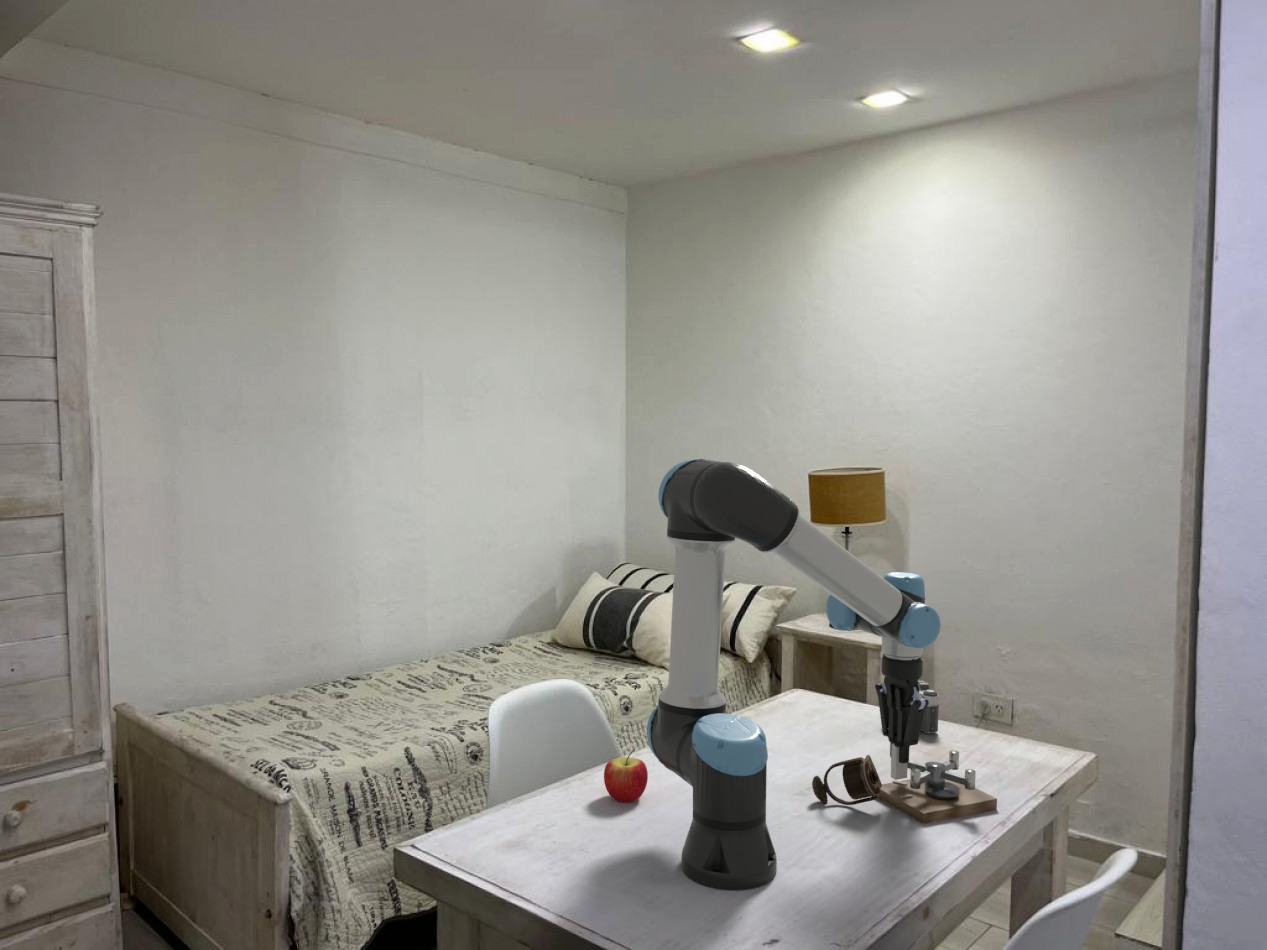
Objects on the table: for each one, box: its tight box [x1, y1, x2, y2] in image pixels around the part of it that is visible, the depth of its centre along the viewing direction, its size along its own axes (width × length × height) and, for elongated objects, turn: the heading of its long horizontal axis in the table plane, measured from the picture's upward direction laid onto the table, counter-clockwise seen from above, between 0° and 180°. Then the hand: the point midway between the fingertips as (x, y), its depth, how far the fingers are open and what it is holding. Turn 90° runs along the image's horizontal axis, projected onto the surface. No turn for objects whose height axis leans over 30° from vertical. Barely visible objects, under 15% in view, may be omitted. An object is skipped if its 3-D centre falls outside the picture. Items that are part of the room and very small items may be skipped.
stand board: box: [877, 778, 998, 825], centre depth 183 cm, size 17×14×2 cm
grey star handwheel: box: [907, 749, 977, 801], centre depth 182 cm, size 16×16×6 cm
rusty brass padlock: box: [811, 754, 882, 806], centre depth 179 cm, size 7×13×10 cm, turn 78°
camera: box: [918, 680, 940, 734], centre depth 229 cm, size 16×10×10 cm, turn 14°
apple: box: [603, 748, 649, 803], centre depth 183 cm, size 8×8×10 cm
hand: (898, 777), depth 185 cm, fingers closed
